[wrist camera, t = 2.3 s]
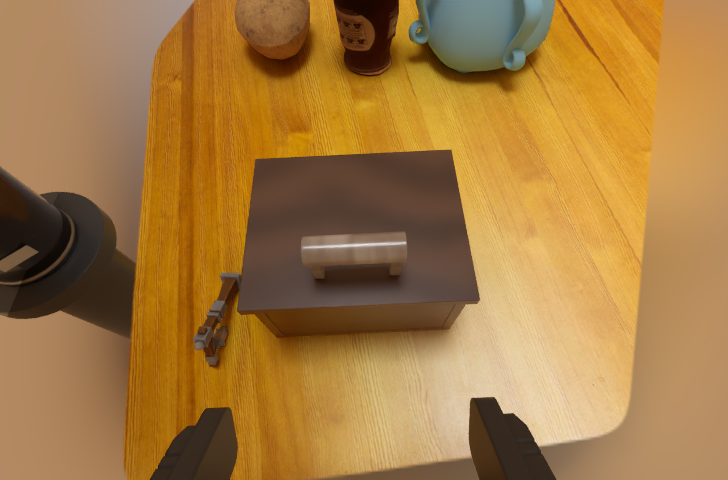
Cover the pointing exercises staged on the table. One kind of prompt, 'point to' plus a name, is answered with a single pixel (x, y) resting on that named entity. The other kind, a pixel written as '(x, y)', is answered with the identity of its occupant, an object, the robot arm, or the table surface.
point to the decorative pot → (482, 31)
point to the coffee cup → (367, 33)
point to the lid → (356, 234)
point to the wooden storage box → (361, 320)
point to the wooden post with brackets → (217, 320)
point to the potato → (274, 25)
